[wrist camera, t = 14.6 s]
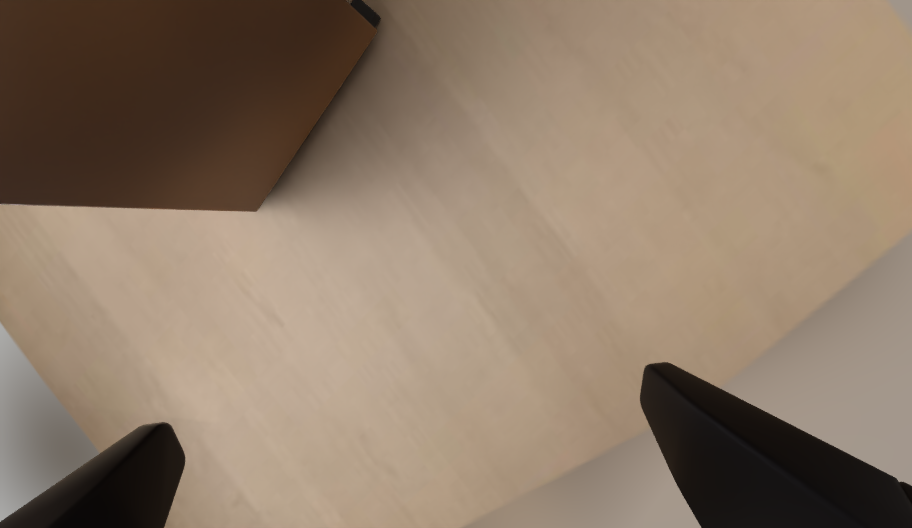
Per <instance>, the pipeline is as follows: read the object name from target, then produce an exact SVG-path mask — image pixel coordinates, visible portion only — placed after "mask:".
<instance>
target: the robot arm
mask: <svg viewBox="0 0 912 528" xmlns="http://www.w3.org/2000/svg"><path fill="white" fill-rule="evenodd" d="M640 403H641V407H642V410H643V412H644V414H645V416H646V419H647V421H648V423H649V425H650V427H651V430H652V432H653V434H654V436H655V438H656V441H657V443H658V445H659V447H660V449H661V452H662V454H663V456H664V458H665V460H666V463H667V464H668V467H669V469H670V471H671V473H672V475H673V477H674V480H675V482H676V483H677V486H678V487H679V489H680V491H681V493H682V495H683V496H684V498H685V500H686V501H687V503H688V505H689V507H690V508H691V510H692V512H693V514H694V515H695V517H696V519H697V520H698V522H699V524H700V526H701V528H912V486H911V485H909V484H907V483H904V482H898V480H897V479H896V478H895V477H893V476H891V475H889V474H887V473H885V472H883V471H881V470H879V469H877V468H875V467H873V466H871V465H869V464H867V463H865V462H863V461H861V460H859V459H857V458H855V457H853V456H851V455H850V454H848V453H846V452H844V451H842V450H840V449H838V448H836V447H834V446H832V445H830V444H828V443H826V442H824V441H822V440H820V439H818V438H816V437H814V436H812V435H810V434H808V433H806V432H804V431H802V430H800V429H798V428H796V427H794V426H793V425H791V424H789V423H787V422H785V421H783V420H781V419H779V418H777V417H775V416H773V415H771V414H769V413H767V412H765V411H763V410H761V409H759V408H757V407H755V406H753V405H751V404H749V403H747V402H745V401H743V400H741V399H739V398H738V397H736V396H734V395H732V394H729V393H728V392H726V391H724V390H722V389H720V388H718V387H716V386H714V385H712V384H710V383H708V382H706V381H704V380H702V379H700V378H698V377H696V376H694V375H692V374H690V373H688V372H686V371H684V370H682V369H681V368H679V367H677V366H675V365H673V364H670V363H667V362H662V363H654V364H649V365H647V366H646V367H645V369H644V373H643V380H642V386H641V393H640ZM184 466H185V454H184V451H183V449H182V447H181V445H180V443H179V441H178V439H177V436H176V434H175V432H174V430H173V428H172V426H171V425H170V424H168V423H165V422H161V423H153V424H146V425H142V426H140V427H138V428H137V429H135V430H134V431H132V432H131V433H129V434H128V435H126V436H125V437H124V438H122V439H121V440H119V441H118V442H116V443H115V444H113V445H112V446H110V447H109V448H107V449H106V450H105V451H103V452H102V453H100V454H99V455H97V456H96V457H94V458H93V459H91V460H90V461H89V462H87V463H86V464H84V465H83V466H81V467H80V468H78V469H77V470H76V471H74V472H72V473H71V474H69V475H68V476H67V477H65V478H64V479H62V480H61V481H59V482H58V483H56V484H55V485H53V486H52V487H50V488H49V489H47V490H46V491H45V492H43V493H42V494H40V495H39V496H37V497H36V498H34V499H33V500H31V501H30V502H29V503H27V504H26V505H24V506H23V507H21V508H20V509H18V510H17V511H16V512H14V513H12V514H11V515H9V516H8V517H7V518H5V519H4V520H2V521H1V522H0V528H164V526H165V523H166V520H167V517H168V514H169V511H170V508H171V505H172V502H173V499H174V496H175V493H176V491H177V488H178V485H179V482H180V479H181V476H182V473H183V470H184Z"/></svg>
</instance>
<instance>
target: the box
mask: <svg viewBox="0 0 912 528" xmlns="http://www.w3.org/2000/svg"><path fill="white" fill-rule="evenodd" d="M376 33H377V29H376V28H375V27H373V26H372V25H371V24H370V23H369V22H368V21H367V20H366V19H365V18H364V17H363V16H362V15H361V14H360V13H359V12H357V11H356V10H355V9H354V8H353V7H352V6H351V5H350V4H349V3H348V2H347V1H346V0H0V205H33V206H69V207H105V208H141V209H177V210H213V211H249V212H256V211H257V210H258V209H259V207H260V206H261V204H262V203H263V201H264V200H265V198H266V197H267V195H268V194H269V192H270V191H271V189H272V188H273V186H274V185H275V183H276V182H277V180H278V179H279V177H280V176H281V174H282V173H283V172H284V170H285V169H286V167H287V166H288V164H289V163H290V161H291V160H292V158H293V157H294V155H295V154H296V152H297V151H298V149H299V148H300V146H301V145H302V143H303V142H304V140H305V139H306V137H307V136H308V134H309V133H310V131H311V130H312V128H313V127H314V125H315V124H316V122H317V121H318V119H319V118H320V116H321V115H322V114H323V112H324V111H325V109H326V108H327V106H328V105H329V103H330V102H331V100H332V99H333V97H334V96H335V94H336V93H337V91H338V90H339V88H340V87H341V85H342V84H343V82H344V81H345V79H346V78H347V76H348V75H349V73H350V72H351V70H352V69H353V67H354V66H355V64H356V63H357V61H358V60H359V58H360V57H361V56H362V54H363V53H364V51H365V50H366V48H367V47H368V45H369V44H370V42H371V41H372V39H373V38H374V36H375V35H376Z"/></svg>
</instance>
